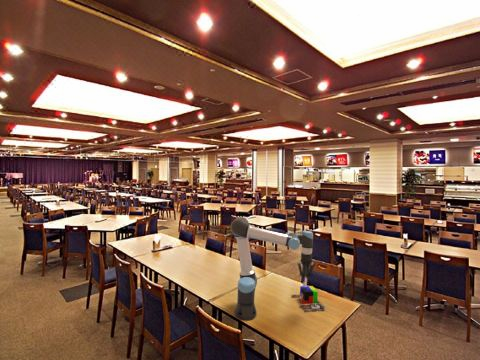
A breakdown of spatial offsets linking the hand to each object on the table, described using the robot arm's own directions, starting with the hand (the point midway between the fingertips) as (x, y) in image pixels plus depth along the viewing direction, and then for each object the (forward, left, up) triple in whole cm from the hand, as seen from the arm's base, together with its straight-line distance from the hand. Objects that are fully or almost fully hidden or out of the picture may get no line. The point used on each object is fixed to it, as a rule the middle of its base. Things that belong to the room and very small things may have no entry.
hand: (304, 286), depth 182 cm
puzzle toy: (+9, +13, -18) cm, 24 cm away
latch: (+8, 0, -17) cm, 19 cm away
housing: (+7, +9, -18) cm, 21 cm away
